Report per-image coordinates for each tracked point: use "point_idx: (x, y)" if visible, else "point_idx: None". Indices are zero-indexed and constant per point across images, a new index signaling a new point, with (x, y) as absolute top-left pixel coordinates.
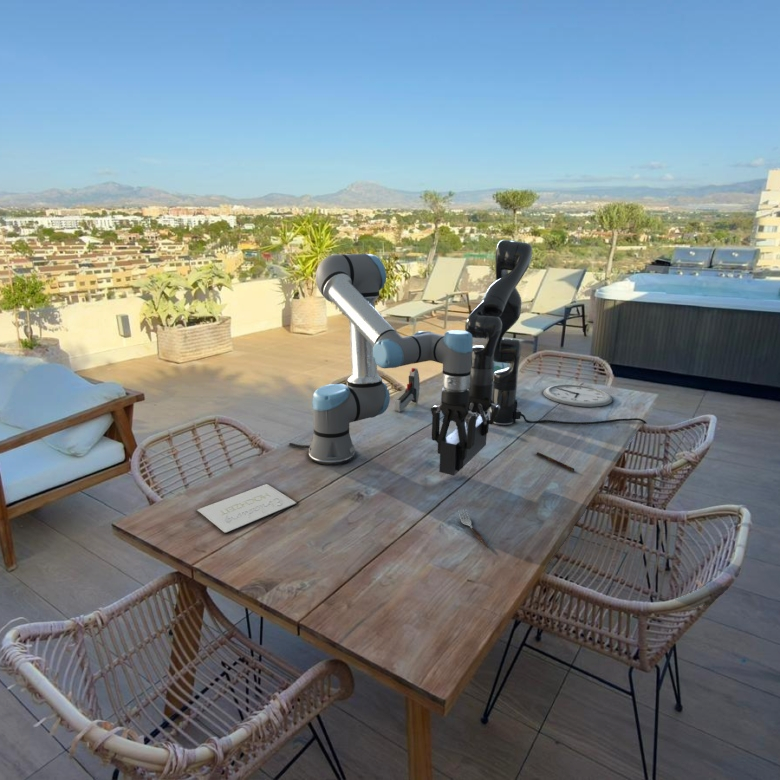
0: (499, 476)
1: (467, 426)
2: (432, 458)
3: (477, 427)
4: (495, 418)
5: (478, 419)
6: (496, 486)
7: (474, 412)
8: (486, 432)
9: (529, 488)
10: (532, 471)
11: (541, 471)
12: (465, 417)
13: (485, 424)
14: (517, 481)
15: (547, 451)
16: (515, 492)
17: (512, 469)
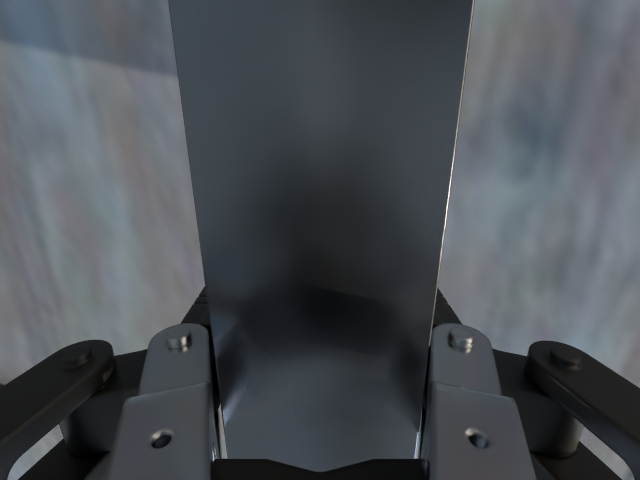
0: (189, 192)
1: (337, 9)
2: (536, 201)
3: (193, 134)
4: (38, 468)
5: (303, 396)
6: (150, 81)
7: (367, 467)
8: (203, 289)
9: (24, 151)
10: (103, 309)
11: (76, 327)
12: (491, 357)
13: (179, 330)
14: (101, 189)
15: None
16: (47, 70)
17: (176, 285)
